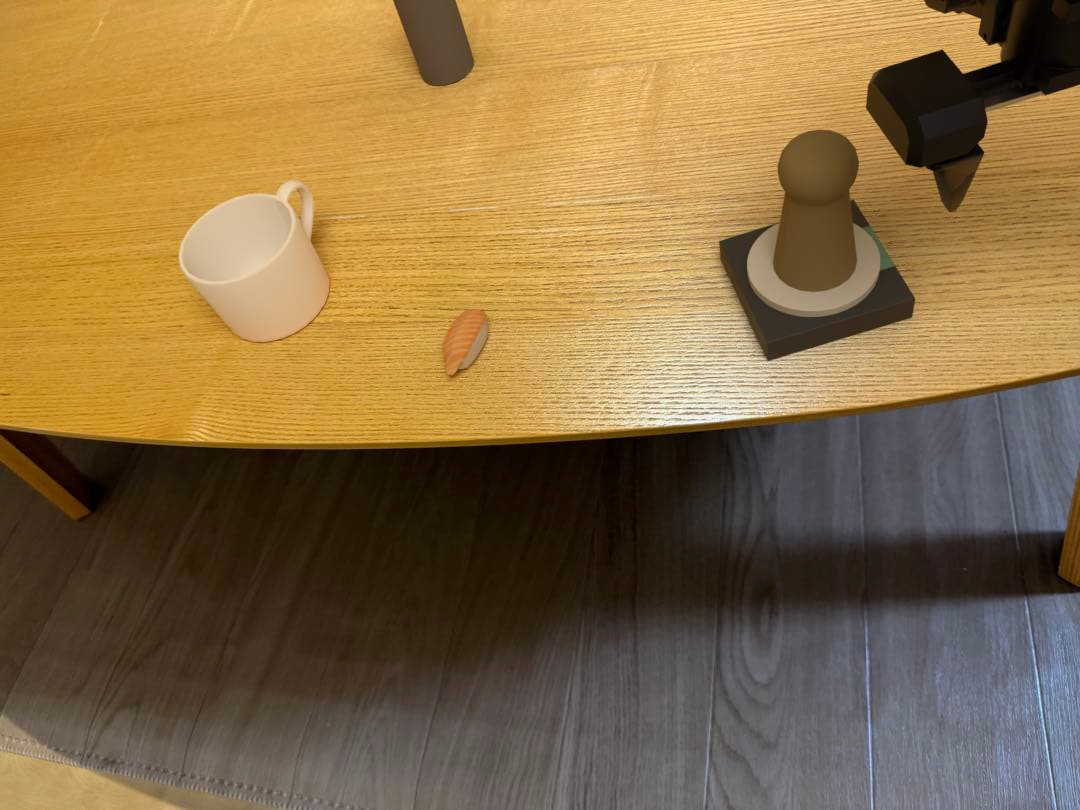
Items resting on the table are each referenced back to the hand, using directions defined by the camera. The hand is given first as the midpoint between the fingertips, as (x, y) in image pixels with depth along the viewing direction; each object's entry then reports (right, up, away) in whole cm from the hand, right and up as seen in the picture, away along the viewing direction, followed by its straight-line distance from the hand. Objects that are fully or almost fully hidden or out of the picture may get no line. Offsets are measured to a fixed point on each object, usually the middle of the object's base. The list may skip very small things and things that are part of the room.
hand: (1022, 184), depth 57 cm
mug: (-52, -3, +28) cm, 59 cm away
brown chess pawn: (-9, -3, +13) cm, 16 cm away
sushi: (-35, -9, +19) cm, 41 cm away
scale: (-8, -4, +15) cm, 18 cm away
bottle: (-39, +22, +42) cm, 61 cm away
